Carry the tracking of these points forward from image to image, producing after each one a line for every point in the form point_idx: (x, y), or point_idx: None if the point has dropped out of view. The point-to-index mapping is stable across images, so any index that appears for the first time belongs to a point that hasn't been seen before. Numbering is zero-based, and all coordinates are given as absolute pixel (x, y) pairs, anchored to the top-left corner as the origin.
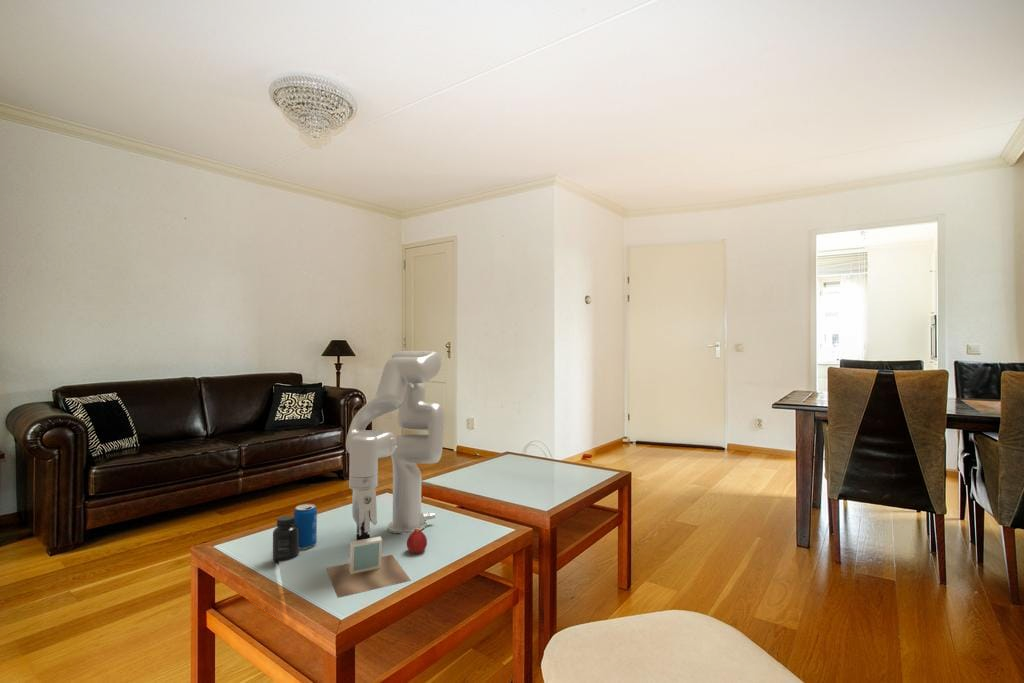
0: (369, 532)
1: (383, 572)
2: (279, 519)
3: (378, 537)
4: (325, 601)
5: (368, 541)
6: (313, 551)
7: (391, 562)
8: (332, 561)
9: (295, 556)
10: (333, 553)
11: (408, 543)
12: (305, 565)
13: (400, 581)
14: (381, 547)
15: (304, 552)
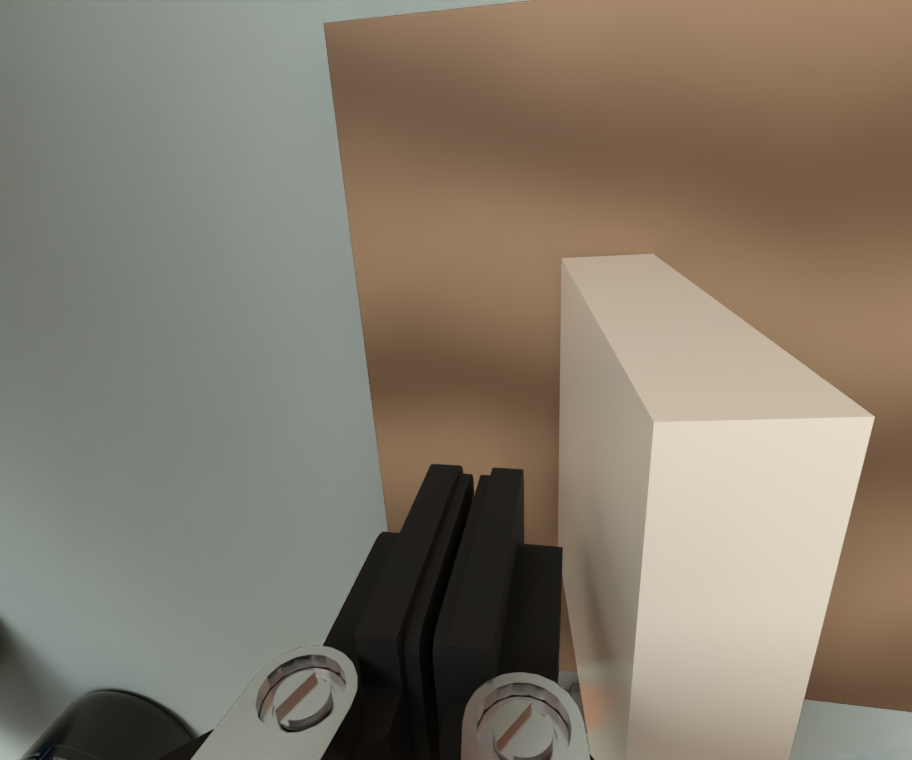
0: (584, 746)
1: (808, 255)
2: None
3: (700, 476)
4: (908, 733)
5: (773, 689)
6: (35, 603)
7: (567, 88)
8: (231, 547)
9: (151, 741)
10: (88, 510)
11: None
12: (247, 684)
13: None
14: (765, 344)
15: (45, 644)
